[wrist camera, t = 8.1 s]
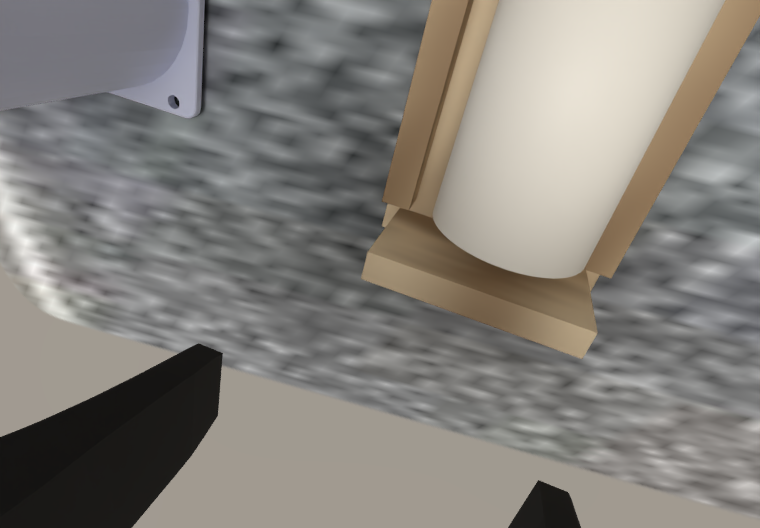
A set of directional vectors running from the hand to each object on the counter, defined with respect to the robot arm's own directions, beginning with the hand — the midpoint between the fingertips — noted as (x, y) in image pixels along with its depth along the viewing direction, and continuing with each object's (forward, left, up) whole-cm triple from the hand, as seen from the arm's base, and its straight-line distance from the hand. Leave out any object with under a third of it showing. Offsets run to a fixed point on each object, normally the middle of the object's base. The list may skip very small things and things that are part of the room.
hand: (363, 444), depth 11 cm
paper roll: (+2, +7, -7) cm, 10 cm away
